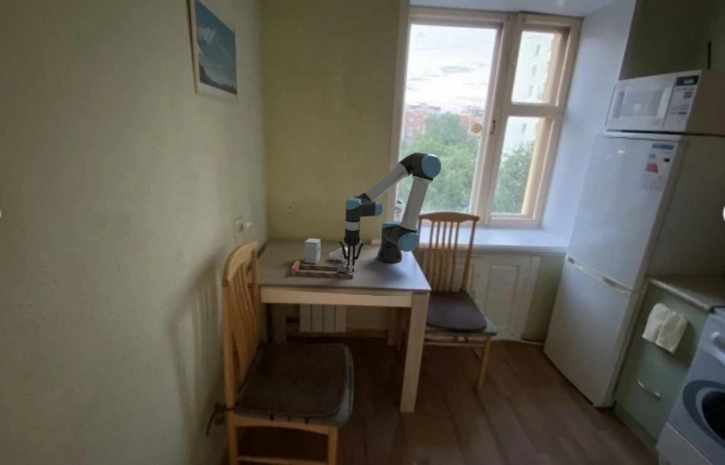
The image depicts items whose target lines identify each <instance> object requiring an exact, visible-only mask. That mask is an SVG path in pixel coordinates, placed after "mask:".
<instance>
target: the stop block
mask: <svg viewBox="0 0 725 465" xmlns="http://www.w3.org/2000/svg"><path fill="white" fill-rule="evenodd" d="M293 263H294V264H293V265H292V267H291V276H296V275H295V272H296V271H300V268H299V265H300V264H301V260H295V262H293Z"/></svg>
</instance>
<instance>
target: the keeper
mask: <svg viewBox="0 0 725 465" xmlns="http://www.w3.org/2000/svg"><path fill="white" fill-rule="evenodd" d="M336 266H337V271H336V273H340V274H349V271H348V267H349V266H348V265H347V263H345V262H344V263H342V262H340V263H338V264H337V265H336Z"/></svg>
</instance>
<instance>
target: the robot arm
mask: <svg viewBox="0 0 725 465" xmlns="http://www.w3.org/2000/svg"><path fill="white" fill-rule="evenodd" d="M441 171H442V162H441V160H440V158H439V157H438V156H437V155H435V154H432V153H425V152H424V153H423V152H418V151H417V152H413V153H410V154H409V155H407V156H405V157H404V158H403V159H401V160H400V161H398V162H397V163H396V166H395V167H394V168H392V169H391V170H390V171H389V172H388V173H387V174H385V175H384V176H383V177H382V178H380V179H378V181H376V182H375V183H374V184H373V185H371V186H370V187H369V188H368V189H366V190H365V191H364V192H363V193H361V194H359V195H354V196H353V197H350V198H347V199H346V201H345V222H344V223H345V224H344V228H345V229H344V237H343V239H340V240H339V241H338V242H339V246H341V247H342V251H343V256H344V257H343V260H344V259H347V260H346V261H347V263H346V264H347V265H348V267H349V271H348V273H352V267H354V266H355V265H356V264H355V263H356V262H355V261H356V260H359V256H360V254H361V251H362V248H363V246H365V241H364V240H363V241H362V240H361V238H360V234H361V233H360V232H361V231H360V228H361V218H367V217H379V216H381V215H382V213H383V204H382V202H380V201H377V200H378V199H379V198H380V197H381V196H383V195H384V194H385V193H387V191H389V190H390V189H392V188H393V187H394V186H396V185H397V184H398V183H399V182H400V181H401V180H403V179H404V178H408V177H409V176H411V177H412V178H413V179H412V180H413V181H412V184H411V186H410V190H409V194H408V198H407V201H406V205H405V207H404V211H403V214H402V217H401V221H397V220H389V221H384V222H383V223H382V224H381V237H380V246H379V250H378V251H377V255H376V258H377V260H378V261H380V262H383V263H388V264H394V263H395V264H396V263H400V262H402V261H403V253H402V251H403V252H404V253H405V252H406V253H408V252H412V251H413V250H415V249H416V248H417V246H418V245H419V241H420V239H419V236H418V234H417V233H418V231H419V229H418V227H417V225H418V221H419V218H420V215H421V211H422V208H423V206H424V202H425V199H426V194H427V191H428V188H429V185H430V184H431V183H433V182H434V180H435V178H436V177H438V176H439V174H440V173H441ZM345 244H346V245H347V248H348V256H347V255H346V251H345V247H346V246H345ZM358 245H359V247H358V249H357V252H356V246H358ZM341 247H340V248H341ZM351 247H352V255H351ZM351 256H352V258H351Z"/></svg>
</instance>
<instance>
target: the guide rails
mask: <svg viewBox="0 0 725 465" xmlns="http://www.w3.org/2000/svg"><path fill="white" fill-rule="evenodd" d="M299 269H303V270H298V271H296V272H295V275H294V276H299V277H300V276H301V277H315V278H316V277H317V278H333V279H352V280H353V278H354V274H352V272H355V267H354V266H352V272H351V273H348V274H340V273H337V265H321V264H319V265H318V264H317V265H316V264H306V263H305V264H304V263H303V264H302V263H300V265H299ZM304 269H306V271H304ZM307 270H319V271H320V272H318V271H307ZM321 270H322V271H336V272H321ZM348 272H349V266H348Z"/></svg>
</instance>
